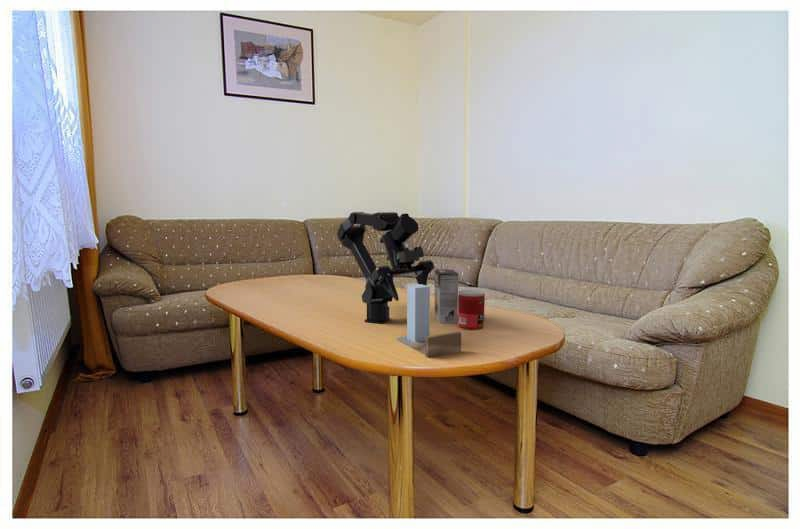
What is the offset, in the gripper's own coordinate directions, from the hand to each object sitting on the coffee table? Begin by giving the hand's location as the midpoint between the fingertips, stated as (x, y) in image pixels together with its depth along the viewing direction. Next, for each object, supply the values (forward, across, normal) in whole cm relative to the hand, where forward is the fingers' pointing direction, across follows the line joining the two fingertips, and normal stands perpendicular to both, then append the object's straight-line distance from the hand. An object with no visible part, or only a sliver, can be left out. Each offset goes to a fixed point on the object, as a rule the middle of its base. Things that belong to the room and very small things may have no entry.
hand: (411, 298), depth 135 cm
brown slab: (+17, -2, -8) cm, 19 cm away
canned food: (+11, +20, +5) cm, 23 cm away
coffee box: (+5, +18, +15) cm, 24 cm away
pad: (+13, -2, 0) cm, 13 cm away
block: (+12, -2, 0) cm, 13 cm away
